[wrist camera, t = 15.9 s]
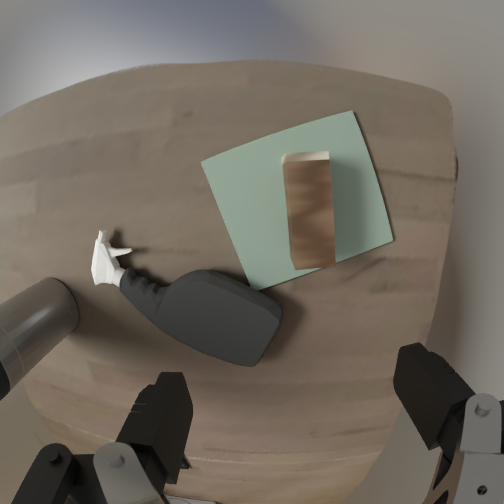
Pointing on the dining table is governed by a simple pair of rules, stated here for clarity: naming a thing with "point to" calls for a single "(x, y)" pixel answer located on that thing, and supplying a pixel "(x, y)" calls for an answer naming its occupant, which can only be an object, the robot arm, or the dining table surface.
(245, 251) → the rubber mat
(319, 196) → the walnut block
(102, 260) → the spray bottle
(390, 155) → the dining table surface
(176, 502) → the cereal box
